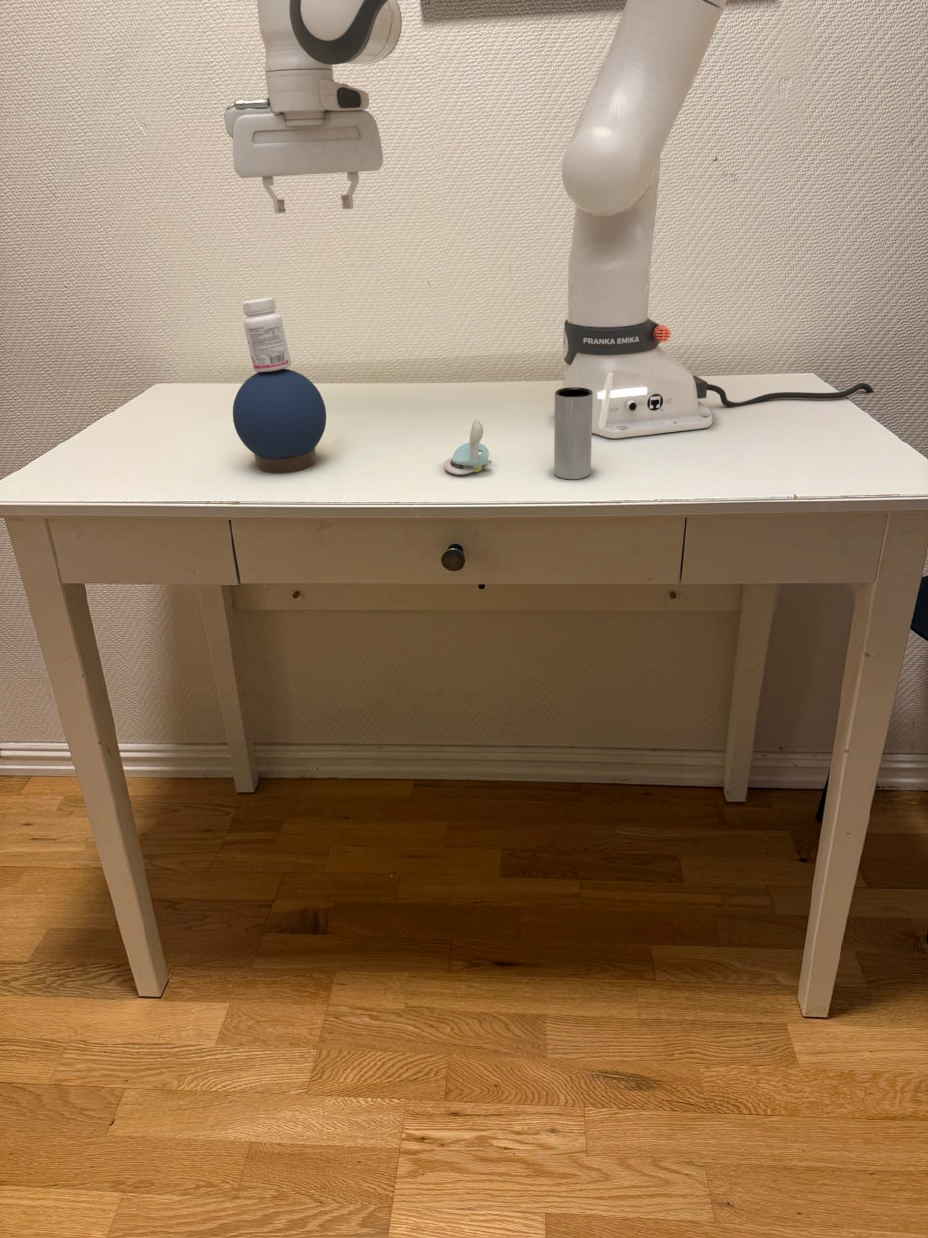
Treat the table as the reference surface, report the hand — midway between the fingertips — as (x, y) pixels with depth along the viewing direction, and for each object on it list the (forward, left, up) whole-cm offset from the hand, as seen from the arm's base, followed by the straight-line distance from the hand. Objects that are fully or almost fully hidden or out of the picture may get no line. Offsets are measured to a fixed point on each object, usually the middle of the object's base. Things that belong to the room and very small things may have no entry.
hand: (314, 210), depth 128 cm
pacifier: (-19, +28, -29) cm, 45 cm away
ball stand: (+5, +22, -29) cm, 37 cm away
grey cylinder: (-32, +32, -29) cm, 54 cm away
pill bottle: (+5, +22, -17) cm, 28 cm away
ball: (+5, +22, -29) cm, 37 cm away
